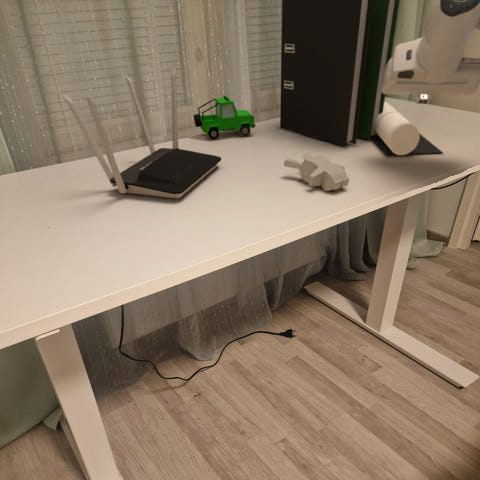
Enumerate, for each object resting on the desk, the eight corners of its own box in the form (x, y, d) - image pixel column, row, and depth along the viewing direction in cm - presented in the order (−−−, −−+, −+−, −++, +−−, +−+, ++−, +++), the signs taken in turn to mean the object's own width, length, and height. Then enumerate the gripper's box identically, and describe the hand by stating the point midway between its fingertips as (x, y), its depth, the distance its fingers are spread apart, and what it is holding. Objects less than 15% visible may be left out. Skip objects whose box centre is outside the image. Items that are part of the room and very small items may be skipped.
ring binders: (380, 137, 118) (403, -9, 98) (341, 147, 112) (357, -6, 92) (315, 120, 136) (322, -6, 117) (278, 128, 130) (280, -3, 110)
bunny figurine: (327, 178, 85) (280, 151, 93) (323, 202, 88) (278, 174, 97) (360, 168, 89) (312, 143, 98) (355, 190, 92) (309, 165, 101)
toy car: (256, 135, 124) (256, 98, 118) (198, 142, 121) (194, 103, 115) (248, 128, 131) (248, 92, 125) (193, 134, 128) (190, 97, 122)
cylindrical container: (383, 149, 105) (362, 123, 124) (408, 159, 106) (383, 131, 126) (399, 120, 101) (375, 97, 120) (425, 130, 102) (397, 106, 122)
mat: (412, 130, 124) (413, 128, 124) (442, 153, 107) (442, 152, 106) (364, 131, 124) (364, 130, 124) (386, 155, 107) (386, 154, 107)
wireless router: (169, 213, 84) (152, 101, 71) (72, 200, 90) (42, 96, 78) (230, 159, 108) (226, 69, 96) (151, 152, 115) (137, 67, 103)
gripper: (494, 43, 85) (471, 88, 99) (388, 45, 89) (379, 88, 103) (492, 72, 84) (468, 114, 98) (385, 73, 89) (376, 112, 102)
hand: (422, 100), depth 100 cm, fingers closed
